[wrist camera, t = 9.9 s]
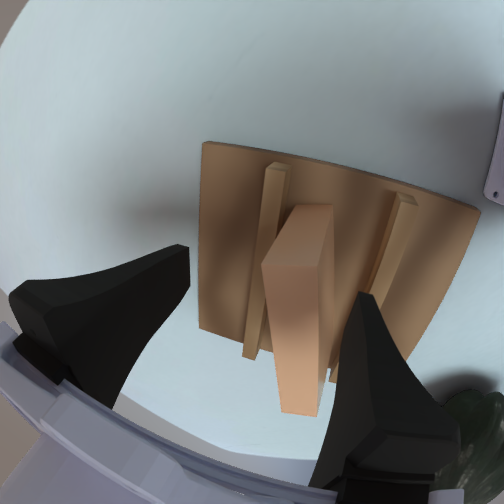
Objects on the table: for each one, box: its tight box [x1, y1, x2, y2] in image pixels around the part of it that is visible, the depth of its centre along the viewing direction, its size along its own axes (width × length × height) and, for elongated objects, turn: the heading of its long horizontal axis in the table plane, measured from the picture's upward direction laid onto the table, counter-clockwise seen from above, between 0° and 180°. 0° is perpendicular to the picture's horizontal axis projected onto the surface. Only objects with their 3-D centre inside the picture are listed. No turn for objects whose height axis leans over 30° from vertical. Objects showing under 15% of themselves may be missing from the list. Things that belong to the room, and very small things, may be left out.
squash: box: [429, 390, 504, 504], centre depth 18 cm, size 14×15×15 cm
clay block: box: [261, 205, 334, 417], centre depth 19 cm, size 2×12×8 cm, turn 8°
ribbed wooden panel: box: [199, 141, 481, 383], centre depth 22 cm, size 20×18×3 cm
